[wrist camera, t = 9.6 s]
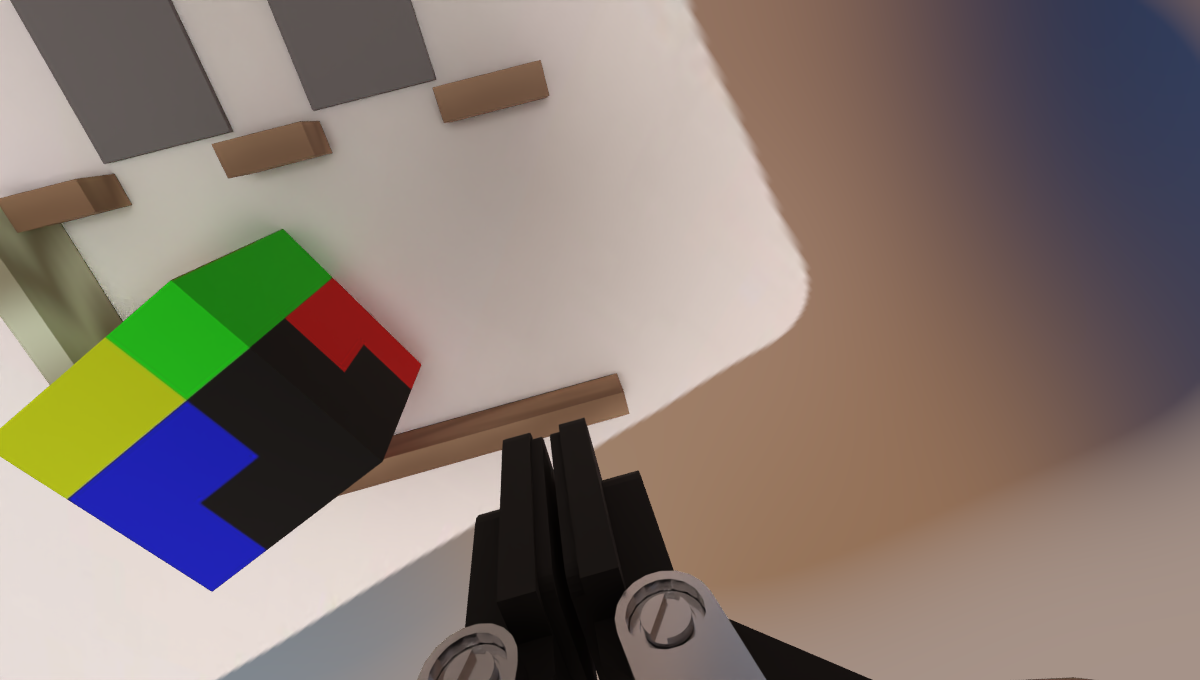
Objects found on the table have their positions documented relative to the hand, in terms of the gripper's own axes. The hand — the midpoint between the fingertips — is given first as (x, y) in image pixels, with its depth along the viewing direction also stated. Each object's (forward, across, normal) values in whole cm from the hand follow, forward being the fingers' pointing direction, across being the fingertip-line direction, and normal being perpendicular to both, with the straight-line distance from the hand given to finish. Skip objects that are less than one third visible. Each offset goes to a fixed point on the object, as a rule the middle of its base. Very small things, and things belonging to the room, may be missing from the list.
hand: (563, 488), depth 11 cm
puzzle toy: (+22, +15, +2) cm, 26 cm away
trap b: (+21, +5, -13) cm, 26 cm away
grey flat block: (+21, +15, -13) cm, 29 cm away
